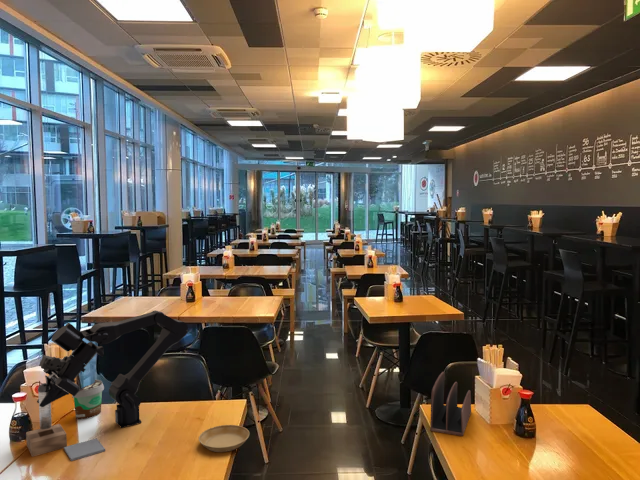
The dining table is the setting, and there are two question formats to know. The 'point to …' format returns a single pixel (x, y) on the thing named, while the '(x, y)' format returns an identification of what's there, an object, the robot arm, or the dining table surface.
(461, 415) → the letter holder
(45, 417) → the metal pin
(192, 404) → the dining table surface
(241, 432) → the plant saucer
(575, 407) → the dining table surface
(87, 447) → the slate pad
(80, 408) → the food container
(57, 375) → the robot arm
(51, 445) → the block
